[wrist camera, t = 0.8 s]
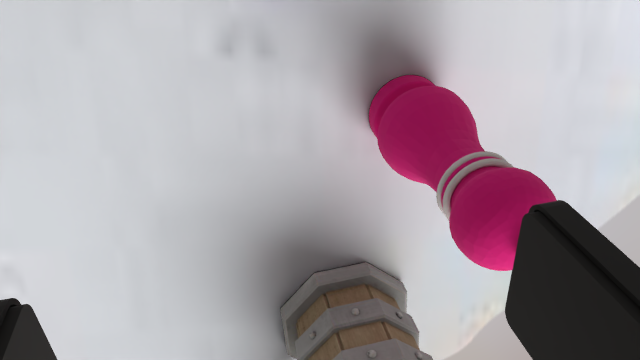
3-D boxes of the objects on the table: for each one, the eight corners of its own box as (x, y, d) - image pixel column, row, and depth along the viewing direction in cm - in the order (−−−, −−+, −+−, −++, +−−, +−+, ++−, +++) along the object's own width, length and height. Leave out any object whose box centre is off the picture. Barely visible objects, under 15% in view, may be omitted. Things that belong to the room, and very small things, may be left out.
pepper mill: (352, 144, 43) (458, 318, 26) (376, 61, 40) (513, 199, 23) (429, 153, 45) (571, 318, 29) (457, 75, 42) (636, 210, 25)
